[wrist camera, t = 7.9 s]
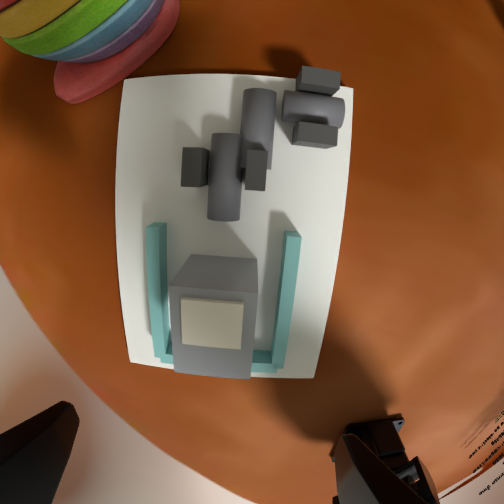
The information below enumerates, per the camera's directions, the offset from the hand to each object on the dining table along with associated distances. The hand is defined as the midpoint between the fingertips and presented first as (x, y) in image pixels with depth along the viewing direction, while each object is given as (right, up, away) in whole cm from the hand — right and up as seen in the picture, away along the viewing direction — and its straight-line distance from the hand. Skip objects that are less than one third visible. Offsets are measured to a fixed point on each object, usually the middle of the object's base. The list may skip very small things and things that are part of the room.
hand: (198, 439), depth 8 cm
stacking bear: (-8, +22, +6) cm, 24 cm away
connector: (0, +3, +11) cm, 11 cm away
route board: (0, +7, +10) cm, 12 cm away
